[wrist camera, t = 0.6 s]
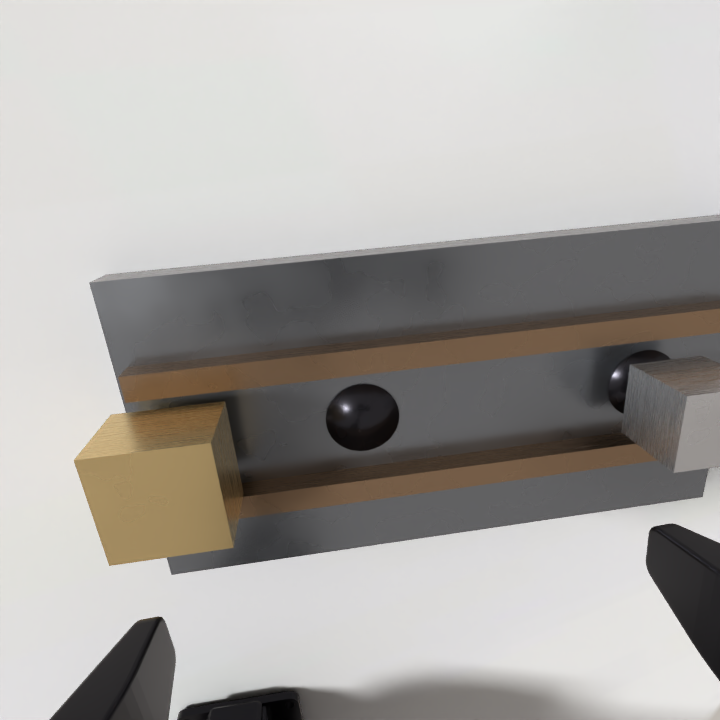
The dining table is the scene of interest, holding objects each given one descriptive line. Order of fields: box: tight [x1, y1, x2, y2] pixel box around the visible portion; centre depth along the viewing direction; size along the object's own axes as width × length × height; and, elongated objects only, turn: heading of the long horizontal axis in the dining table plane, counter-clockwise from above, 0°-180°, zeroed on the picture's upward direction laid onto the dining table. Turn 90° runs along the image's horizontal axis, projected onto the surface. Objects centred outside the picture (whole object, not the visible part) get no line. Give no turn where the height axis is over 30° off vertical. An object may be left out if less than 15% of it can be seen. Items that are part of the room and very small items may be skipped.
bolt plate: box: [90, 215, 720, 575], centre depth 20 cm, size 13×25×2 cm, turn 95°
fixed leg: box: [621, 356, 720, 473], centre depth 19 cm, size 3×3×4 cm
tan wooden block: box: [74, 401, 244, 566], centre depth 17 cm, size 4×4×4 cm
